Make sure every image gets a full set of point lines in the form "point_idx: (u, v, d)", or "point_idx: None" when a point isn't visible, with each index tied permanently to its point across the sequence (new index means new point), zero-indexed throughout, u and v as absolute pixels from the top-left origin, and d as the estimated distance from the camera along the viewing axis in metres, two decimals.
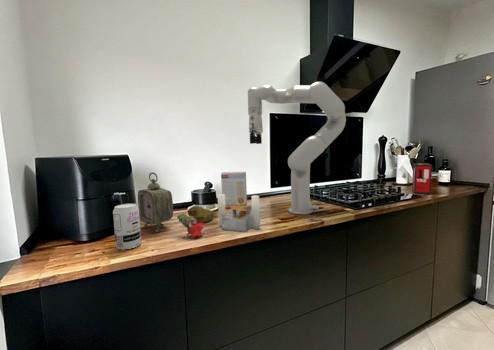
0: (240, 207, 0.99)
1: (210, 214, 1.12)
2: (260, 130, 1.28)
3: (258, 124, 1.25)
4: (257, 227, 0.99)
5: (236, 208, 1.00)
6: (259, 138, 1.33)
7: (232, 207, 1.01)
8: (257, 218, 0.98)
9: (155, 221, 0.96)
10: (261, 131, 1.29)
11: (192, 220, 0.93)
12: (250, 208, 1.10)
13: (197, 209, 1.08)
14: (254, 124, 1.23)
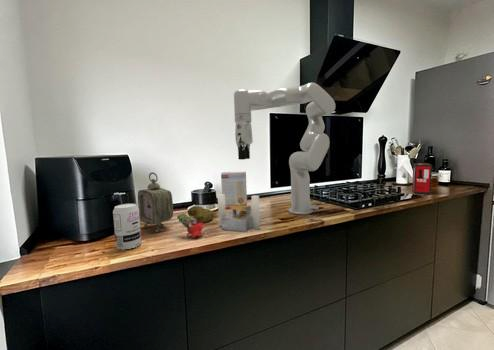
0: (240, 207, 0.99)
1: (210, 214, 1.12)
2: (249, 141, 1.07)
3: (246, 134, 1.04)
4: (257, 227, 0.99)
5: (236, 208, 1.00)
6: (247, 152, 1.10)
7: (232, 207, 1.01)
8: (257, 218, 0.98)
9: (155, 221, 0.96)
10: (250, 142, 1.08)
11: (192, 220, 0.93)
12: (250, 208, 1.10)
13: (197, 209, 1.08)
14: (241, 134, 1.02)
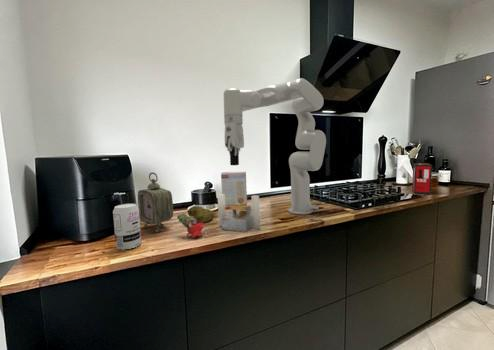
0: (240, 207, 0.99)
1: (210, 214, 1.12)
2: (240, 145, 0.97)
3: (237, 137, 0.94)
4: (257, 227, 0.99)
5: (236, 208, 1.00)
6: None
7: (232, 207, 1.01)
8: (257, 218, 0.98)
9: (155, 221, 0.96)
10: (241, 146, 0.99)
11: (192, 220, 0.93)
12: (250, 208, 1.10)
13: (197, 209, 1.08)
14: (231, 137, 0.93)
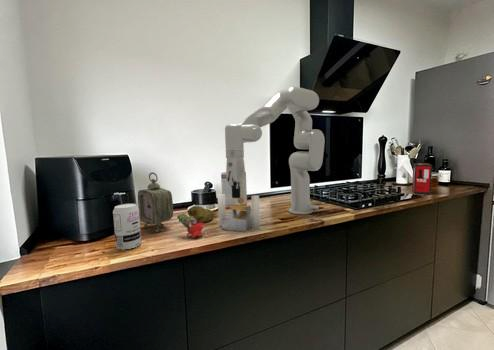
0: (240, 207, 0.99)
1: (210, 214, 1.12)
2: (241, 178, 0.98)
3: (238, 172, 0.95)
4: (257, 227, 0.99)
5: (236, 208, 1.00)
6: None
7: (232, 207, 1.01)
8: (257, 218, 0.98)
9: (155, 221, 0.96)
10: (243, 179, 1.00)
11: (192, 220, 0.93)
12: (250, 208, 1.10)
13: (197, 209, 1.08)
14: (233, 173, 0.94)
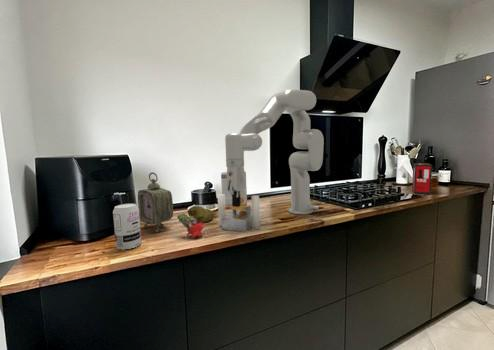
0: (240, 207, 0.99)
1: (210, 214, 1.12)
2: (241, 187, 0.99)
3: (238, 181, 0.96)
4: (257, 227, 0.99)
5: (236, 208, 1.00)
6: None
7: (232, 207, 1.01)
8: (257, 218, 0.98)
9: (155, 221, 0.96)
10: (243, 187, 1.01)
11: (192, 220, 0.93)
12: (250, 208, 1.10)
13: (197, 209, 1.08)
14: (233, 182, 0.94)
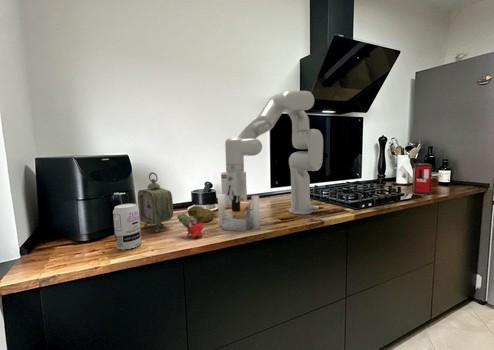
0: (240, 213, 0.99)
1: (210, 214, 1.13)
2: (241, 192, 0.99)
3: (238, 186, 0.96)
4: (257, 227, 0.99)
5: (236, 214, 1.00)
6: None
7: (232, 213, 1.01)
8: (257, 218, 0.98)
9: (155, 221, 0.96)
10: (243, 192, 1.01)
11: (192, 220, 0.93)
12: (250, 203, 1.09)
13: (197, 209, 1.08)
14: (233, 187, 0.95)
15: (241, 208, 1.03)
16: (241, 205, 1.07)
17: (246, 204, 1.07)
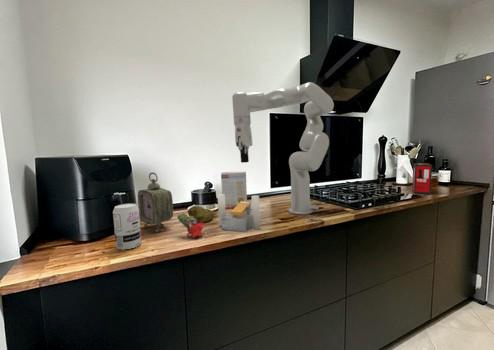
0: (240, 213, 0.99)
1: (210, 214, 1.13)
2: (249, 143, 1.06)
3: (246, 137, 1.03)
4: (257, 227, 0.99)
5: (236, 214, 1.00)
6: None
7: (232, 213, 1.01)
8: (257, 218, 0.98)
9: (155, 221, 0.96)
10: (250, 144, 1.08)
11: (192, 220, 0.93)
12: (250, 203, 1.09)
13: (197, 209, 1.08)
14: (241, 137, 1.01)
15: (241, 208, 1.03)
16: (241, 205, 1.07)
17: (246, 204, 1.07)
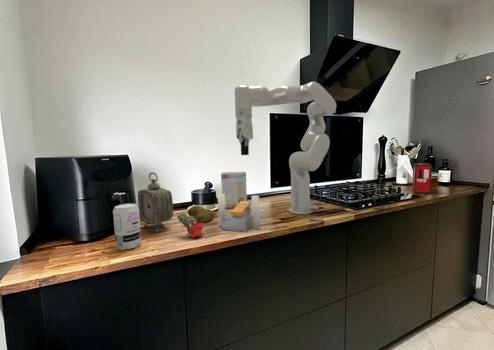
0: (240, 213, 0.99)
1: (210, 214, 1.13)
2: (250, 136, 1.07)
3: (247, 129, 1.04)
4: (257, 227, 0.99)
5: (236, 214, 1.00)
6: None
7: (232, 213, 1.01)
8: (257, 218, 0.98)
9: (155, 221, 0.96)
10: (251, 138, 1.09)
11: (192, 220, 0.93)
12: (250, 203, 1.09)
13: (197, 209, 1.08)
14: (242, 130, 1.03)
15: (241, 208, 1.03)
16: (241, 205, 1.07)
17: (246, 204, 1.07)
